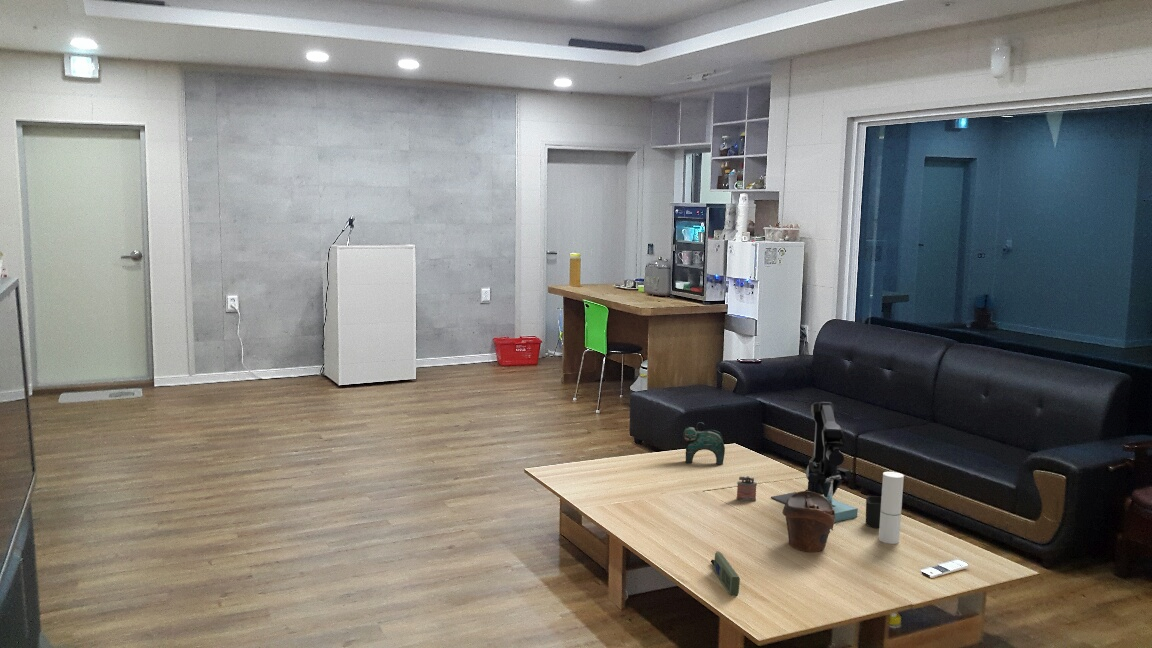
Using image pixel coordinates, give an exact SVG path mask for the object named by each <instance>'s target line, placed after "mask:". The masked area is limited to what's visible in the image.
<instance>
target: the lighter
mask: <svg viewBox="0 0 1152 648" xmlns="http://www.w3.org/2000/svg"><path fill="white" fill-rule="evenodd" d="M738 479H739V480H738V481H737V482H736V485H737V487H736V488H737V489H736V501H740V502H741V501H742V502H756V501H757V498H756V497H757V485H758V483H757V482H755V477H752V476H751V477H750V476H739V477H738Z"/></svg>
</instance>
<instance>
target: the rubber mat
mask: <svg viewBox="0 0 1152 648" xmlns="http://www.w3.org/2000/svg"><path fill="white" fill-rule="evenodd" d="M795 493H797V492H796V491H793V492H789V493H783V494H778V495H774V496H770V499H772V500H775V501H777V502H780V503H782V504H784V505H785V504H786V502H787V500H788V499H789V497H790V496H792V495H793V494H795Z"/></svg>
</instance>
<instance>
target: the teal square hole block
mask: <svg viewBox="0 0 1152 648" xmlns="http://www.w3.org/2000/svg"><path fill="white" fill-rule="evenodd" d="M823 497H824V496H823ZM824 498H825V497H824ZM832 507H833V509H834V511H835V519H834V523H835V522H841V521H845V520H849V519H854V518H858V513H859V511H858V509H859V508H857V507H855V506H852V505H850V504H847V503H845V502H843V501H839V500H838V499H834V498H832Z"/></svg>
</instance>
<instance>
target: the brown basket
mask: <svg viewBox="0 0 1152 648" xmlns="http://www.w3.org/2000/svg"><path fill="white" fill-rule="evenodd" d="M781 514H783V516H784V517H785V520H786V528H787V537H788V544H789V545H790V546H791V547H792V548H794V549H797V551H798V550H799V551H802V552H805V553H806V552H809V553H815V552H821V551H823V550H824V549H825V548H826V544H827V542H828V538H829V535H830V533H831V531H833V532H834V525H835V522H834V519H835V511H834V509H833V507H832V505H831V503H830V502H829V501H828V500H827V499H826V498H824V495H822V494H817V493H815V492H811V491H805V490H803V491H798V492H797V493H795V494H793V495H792V496H790V497H789V499H788V500H787V502H786V504H784V506H783V509H782V513H781Z"/></svg>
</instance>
